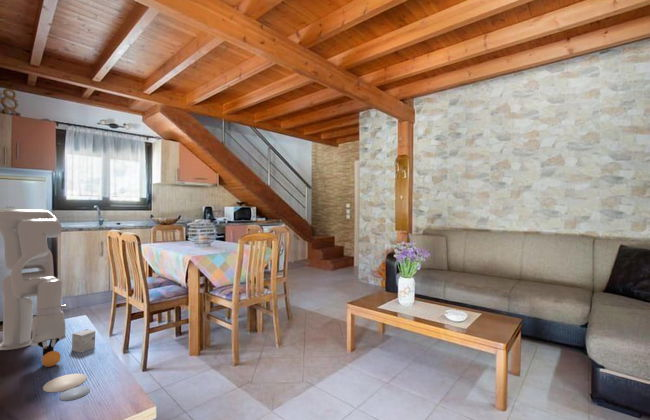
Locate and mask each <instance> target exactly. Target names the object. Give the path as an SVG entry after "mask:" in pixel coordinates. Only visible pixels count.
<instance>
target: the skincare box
mask: <svg viewBox="0 0 650 420" xmlns="http://www.w3.org/2000/svg"><path fill="white" fill-rule="evenodd" d="M71 336H72V338H71V340H72V341H71V351H73V352H75V353H76V352H77V353H84V352H86V351H88V350H89V351H90V350H92V349H95V348H96V330H92V329H87V328H86V329H84V330H80V331H75V332H73V333H72V335H71Z"/></svg>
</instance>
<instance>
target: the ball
mask: <svg viewBox="0 0 650 420" xmlns="http://www.w3.org/2000/svg"><path fill="white" fill-rule="evenodd" d="M61 358H62V357H61V353H60V352H59V351H57V350H54V351H50V352H48V353H46V354H45V355H44V356H43V355H42V358H41V363H42V365H43V366H44V367H47V368H49V367H53V366H56V365H57V364H59V362H60V360H61Z"/></svg>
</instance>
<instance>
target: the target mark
mask: <svg viewBox="0 0 650 420" xmlns="http://www.w3.org/2000/svg"><path fill="white" fill-rule="evenodd" d="M87 379H88V377H87V375H86V374H85V373H69V374H64V375H60V376H58V377H55V378H53V379H51V380H49V381H48V382H46V383H45V384H44V385H43V386H42V390H43V391H44V392H46V393H59V392H65V391H67V390H69V389H72V388H76V387H80V386H82V384H84V383H85V382H86V381H87Z"/></svg>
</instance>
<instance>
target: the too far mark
mask: <svg viewBox="0 0 650 420" xmlns="http://www.w3.org/2000/svg"><path fill="white" fill-rule="evenodd" d="M90 391H91V388H90V387H89V386H77V387H74V388H72V389H69V390H65V391H62V393H61V394H60V395H59V400H60V401H63V402H64V401H65V402H68V401H69V400H70V401H74V400H78V399H80V398H83V397H85V396H87V395H88V394H89V393H90Z"/></svg>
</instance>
